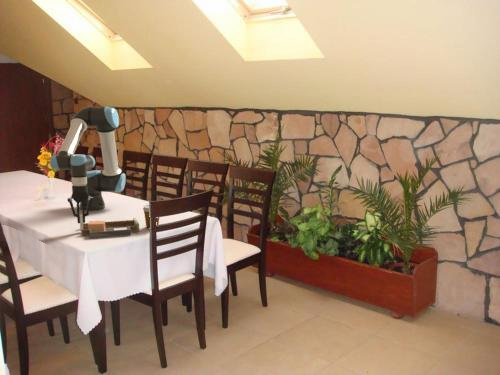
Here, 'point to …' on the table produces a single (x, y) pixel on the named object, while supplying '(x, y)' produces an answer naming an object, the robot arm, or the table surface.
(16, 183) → the table surface
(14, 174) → the table surface
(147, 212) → the disposable coffee cup
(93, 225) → the terracotta block
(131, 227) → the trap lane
